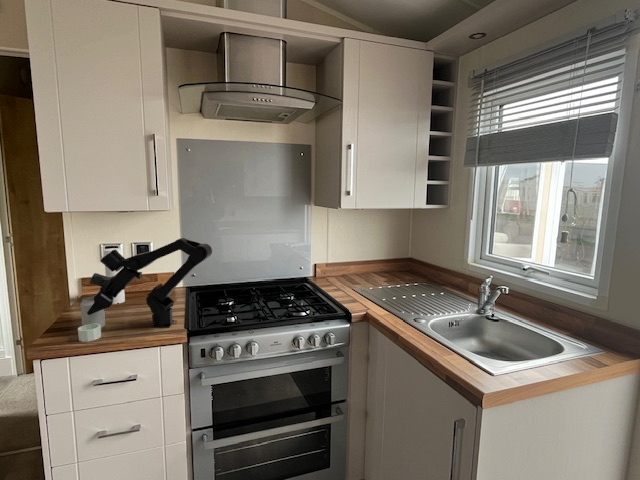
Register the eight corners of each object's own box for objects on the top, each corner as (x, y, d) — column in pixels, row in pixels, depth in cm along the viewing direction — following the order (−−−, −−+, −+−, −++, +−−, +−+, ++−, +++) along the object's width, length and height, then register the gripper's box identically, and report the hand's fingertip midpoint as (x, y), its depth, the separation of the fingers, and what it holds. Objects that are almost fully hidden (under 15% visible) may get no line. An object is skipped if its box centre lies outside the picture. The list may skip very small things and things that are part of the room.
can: (79, 333, 134) (76, 301, 133) (86, 325, 141) (83, 295, 140) (102, 331, 136) (99, 300, 135) (107, 323, 143) (105, 294, 142)
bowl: (104, 333, 134) (103, 323, 133) (95, 341, 127) (94, 330, 127) (85, 334, 133) (84, 323, 133) (74, 341, 127) (73, 330, 126)
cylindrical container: (103, 303, 168) (100, 250, 165) (116, 298, 175) (113, 247, 172) (116, 304, 166) (112, 251, 163) (128, 300, 173) (125, 248, 169)
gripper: (107, 261, 146) (77, 290, 143) (99, 271, 129) (64, 304, 126) (130, 279, 150) (101, 307, 147) (125, 291, 133) (92, 323, 130)
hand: (90, 310), depth 138 cm, fingers open, 9 cm apart
